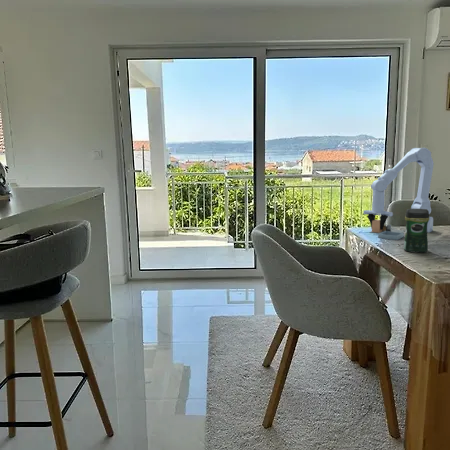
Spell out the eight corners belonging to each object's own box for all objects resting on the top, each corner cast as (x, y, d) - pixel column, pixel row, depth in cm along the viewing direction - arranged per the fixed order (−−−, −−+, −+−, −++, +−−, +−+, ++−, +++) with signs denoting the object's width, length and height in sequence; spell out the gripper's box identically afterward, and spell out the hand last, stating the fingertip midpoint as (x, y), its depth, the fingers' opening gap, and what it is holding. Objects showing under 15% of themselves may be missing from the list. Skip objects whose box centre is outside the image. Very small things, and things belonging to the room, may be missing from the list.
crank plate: (406, 233, 209) (406, 230, 209) (396, 237, 199) (397, 235, 198) (379, 230, 218) (379, 227, 218) (369, 234, 208) (369, 232, 208)
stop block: (382, 231, 209) (382, 220, 208) (379, 232, 206) (379, 221, 205) (374, 230, 211) (375, 219, 210) (371, 231, 209) (372, 220, 207)
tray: (403, 239, 196) (404, 233, 195) (397, 242, 189) (397, 236, 188) (385, 236, 202) (385, 230, 201) (377, 240, 195) (378, 234, 194)
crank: (391, 231, 208) (391, 222, 207) (389, 231, 206) (390, 222, 205) (374, 229, 214) (374, 220, 213) (372, 229, 212) (372, 221, 211)
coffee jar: (426, 249, 175) (429, 207, 172) (428, 253, 168) (431, 210, 165) (402, 247, 179) (405, 207, 175) (403, 252, 172) (405, 209, 168)
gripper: (361, 203, 208) (360, 228, 210) (389, 205, 198) (388, 231, 201) (366, 201, 213) (366, 226, 215) (394, 203, 203) (393, 229, 206)
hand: (377, 228), depth 208 cm, fingers closed on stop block, 4 cm apart
